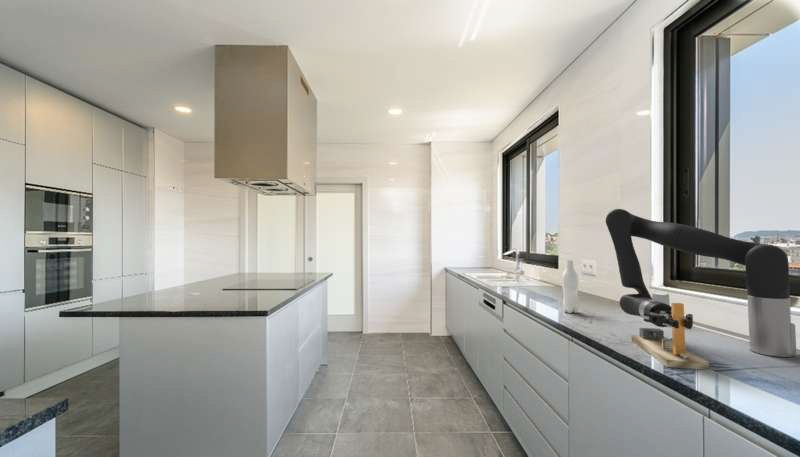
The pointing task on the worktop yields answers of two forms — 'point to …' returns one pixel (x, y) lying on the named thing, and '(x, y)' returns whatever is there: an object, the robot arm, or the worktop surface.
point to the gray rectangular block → (651, 333)
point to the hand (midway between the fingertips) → (683, 324)
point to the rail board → (670, 354)
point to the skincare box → (661, 297)
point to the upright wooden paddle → (677, 331)
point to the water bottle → (570, 288)
